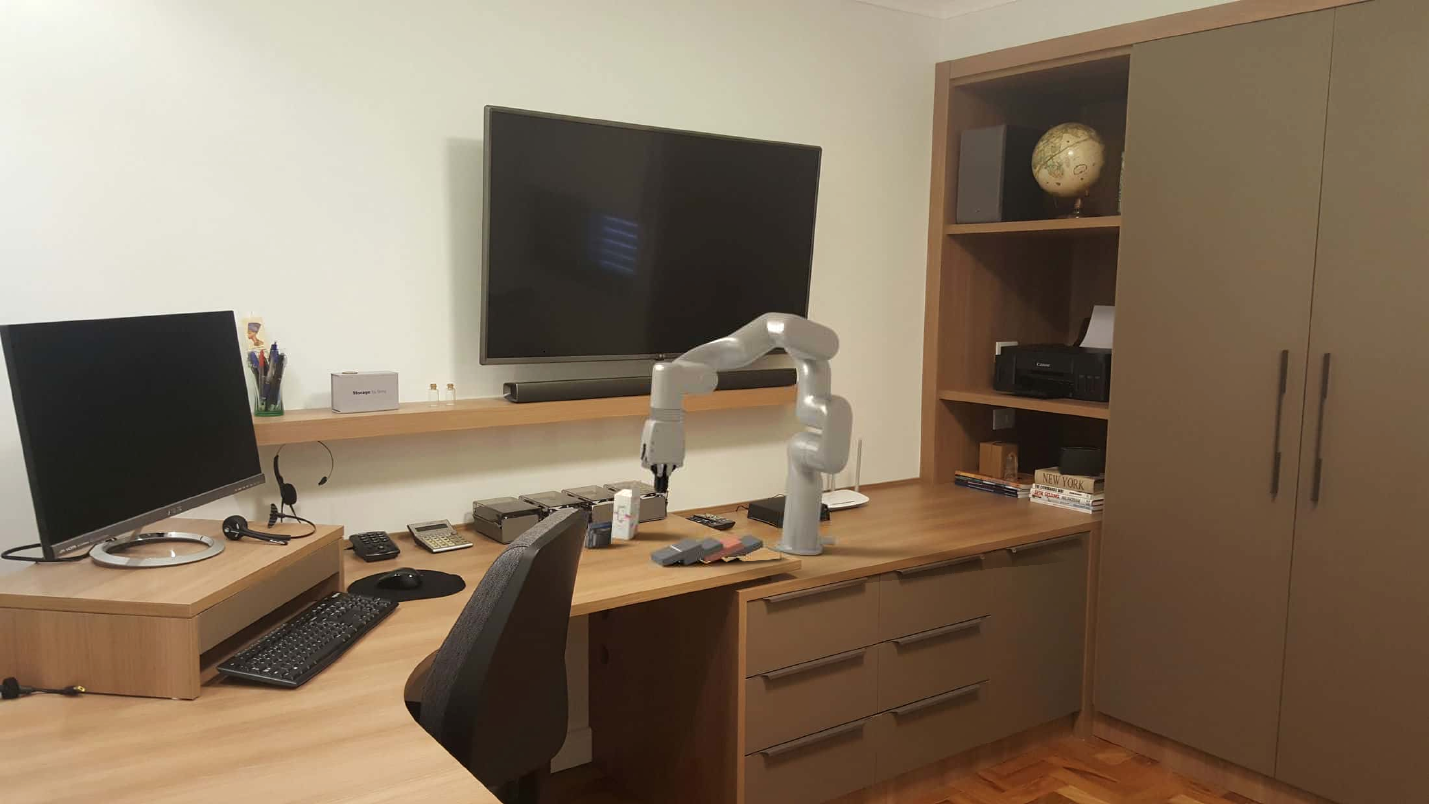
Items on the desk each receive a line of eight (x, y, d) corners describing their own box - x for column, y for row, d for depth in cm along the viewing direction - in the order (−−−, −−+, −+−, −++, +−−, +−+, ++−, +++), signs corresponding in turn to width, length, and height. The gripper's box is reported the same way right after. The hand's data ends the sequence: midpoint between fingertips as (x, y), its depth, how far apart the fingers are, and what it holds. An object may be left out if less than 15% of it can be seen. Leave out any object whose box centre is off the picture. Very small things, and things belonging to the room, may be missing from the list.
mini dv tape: (587, 549, 248) (590, 525, 248) (583, 547, 249) (585, 523, 248) (610, 544, 255) (612, 521, 254) (606, 543, 256) (608, 520, 255)
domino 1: (651, 560, 243) (690, 544, 248) (663, 567, 238) (702, 551, 243) (649, 553, 243) (689, 537, 248) (661, 559, 238) (701, 543, 243)
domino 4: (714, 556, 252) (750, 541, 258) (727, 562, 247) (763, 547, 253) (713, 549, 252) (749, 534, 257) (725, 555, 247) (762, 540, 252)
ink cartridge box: (619, 531, 270) (624, 477, 268) (637, 534, 269) (642, 479, 267) (610, 538, 261) (615, 482, 260) (628, 540, 260) (633, 484, 259)
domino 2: (673, 559, 246) (711, 543, 251) (685, 565, 241) (723, 549, 246) (671, 552, 246) (710, 536, 251) (683, 558, 241) (722, 542, 246)
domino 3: (693, 558, 249) (730, 542, 254) (705, 564, 244) (743, 548, 249) (692, 551, 249) (729, 535, 254) (704, 557, 244) (742, 541, 249)
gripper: (685, 413, 244) (680, 487, 246) (630, 413, 236) (625, 490, 238) (701, 417, 237) (695, 494, 239) (644, 417, 230) (639, 497, 232)
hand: (660, 492), depth 239 cm, fingers closed
